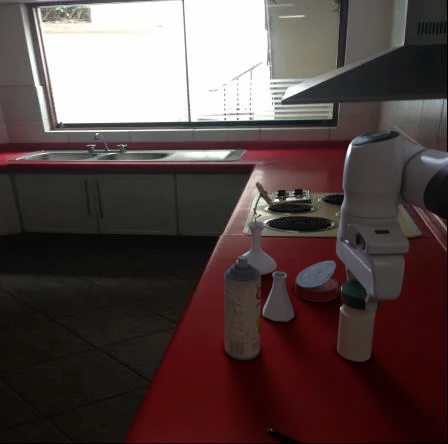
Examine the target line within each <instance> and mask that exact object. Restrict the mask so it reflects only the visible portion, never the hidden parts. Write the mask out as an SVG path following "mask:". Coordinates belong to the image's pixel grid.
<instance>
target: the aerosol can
mask: <svg viewBox="0 0 448 444" xmlns="http://www.w3.org/2000/svg"><path fill="white" fill-rule="evenodd" d="M237 260H238V261H237ZM237 260H236V261H237V262H236V261H235V262H234V263H233V264H231V265H230V266H229V267H227V268H226V269H225V271H224V277H223V280H224V282H223V283H224V284H223V285H224V286H223V287H224V288H223V292H224V297H223V299H224V351H225V354H226V355H228V357H230V358H232V359H234V360H237V361H251V360H253V359H255V358H257V357H258V356H259V355H260V353H261V352H260V350H261V348H260V347H261V305H262V301H261V299H262V297H261V296H262V275H260V271H259V270H258V269H256V268H255V267H254V266H253V265H251V263H249V262H248V261H247V256H242V255H238V257H237Z"/></svg>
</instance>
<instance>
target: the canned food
mask: <svg viewBox="0 0 448 444" xmlns="http://www.w3.org/2000/svg"><path fill="white" fill-rule="evenodd" d="M336 267H337V262H335V261H334V260H324V261H319V262H316V263H314V264H311V265H310V266H308V267H305V268H304V269H302V270H301V271H300V272H299V273H298V275H297V276H296V277H295V285H294V293H295V295H297V297H299V298H301V299H303V300H306V301H309V302H315V303H327V302H331V301H333V300H335V299H337V296H338V287H339V283H338V281H337V280H336V279H335V278H334V277H332V276H333V275H334V273H335V269H336Z"/></svg>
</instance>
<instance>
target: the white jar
mask: <svg viewBox="0 0 448 444" xmlns="http://www.w3.org/2000/svg"><path fill="white" fill-rule="evenodd" d="M375 322H376V311H367V310H360V309H355V308H351V307H349V306H347V305H345V304H344V303H343V302H342V305H341V306H340V308H339V319H338V328H337V329H338V330H337V341H336V344H337V345H336V351H337V353H338V354H339V356H341V357H342V358H344V359H346V360H348V361H351V362H366V361H368V360H369V359H371V357H372V350H373V342H374V340H373V339H374V333H375V325H376V323H375Z"/></svg>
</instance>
